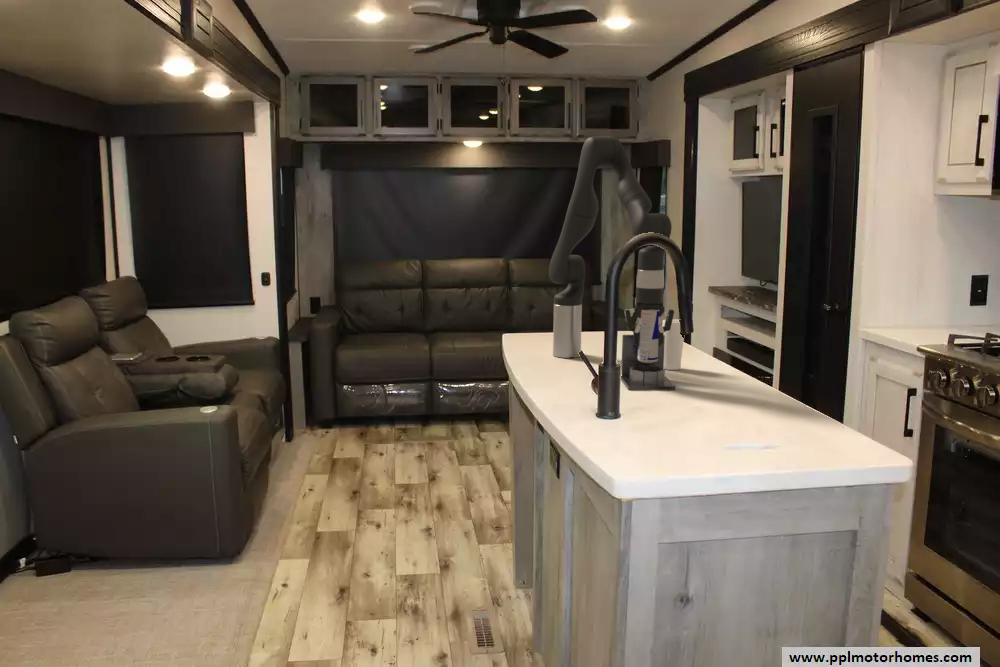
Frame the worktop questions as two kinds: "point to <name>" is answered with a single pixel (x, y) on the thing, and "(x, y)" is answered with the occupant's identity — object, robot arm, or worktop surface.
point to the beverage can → (649, 336)
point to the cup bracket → (643, 369)
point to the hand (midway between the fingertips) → (647, 345)
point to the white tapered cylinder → (673, 346)
